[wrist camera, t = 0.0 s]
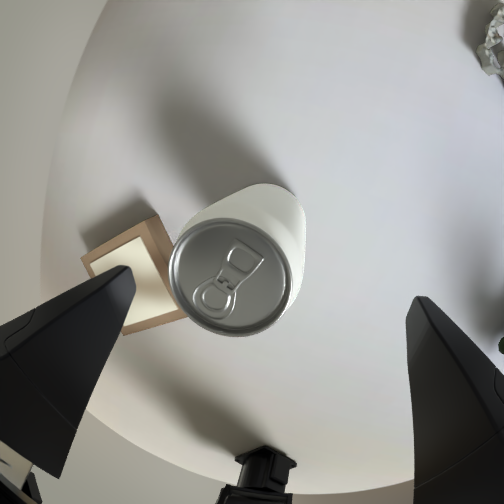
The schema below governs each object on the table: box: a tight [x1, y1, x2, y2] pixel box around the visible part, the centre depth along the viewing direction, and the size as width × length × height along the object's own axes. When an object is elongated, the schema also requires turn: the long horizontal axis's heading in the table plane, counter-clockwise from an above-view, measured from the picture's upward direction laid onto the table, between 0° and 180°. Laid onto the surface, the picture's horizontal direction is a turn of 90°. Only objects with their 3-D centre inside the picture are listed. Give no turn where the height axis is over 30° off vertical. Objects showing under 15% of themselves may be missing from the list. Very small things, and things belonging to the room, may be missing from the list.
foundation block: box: [81, 215, 188, 336], centre depth 26 cm, size 9×9×3 cm
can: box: [168, 183, 306, 337], centre depth 18 cm, size 6×6×12 cm
